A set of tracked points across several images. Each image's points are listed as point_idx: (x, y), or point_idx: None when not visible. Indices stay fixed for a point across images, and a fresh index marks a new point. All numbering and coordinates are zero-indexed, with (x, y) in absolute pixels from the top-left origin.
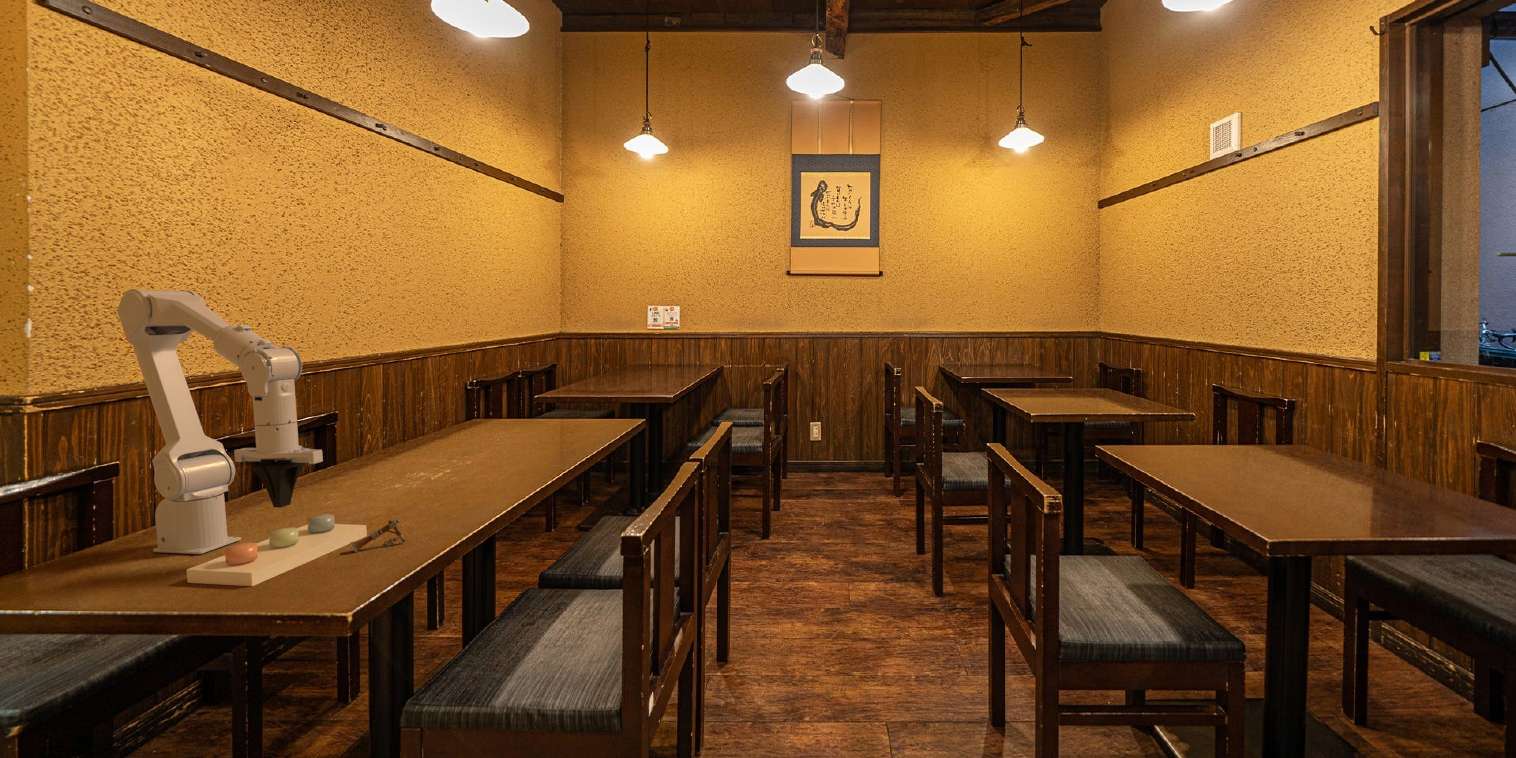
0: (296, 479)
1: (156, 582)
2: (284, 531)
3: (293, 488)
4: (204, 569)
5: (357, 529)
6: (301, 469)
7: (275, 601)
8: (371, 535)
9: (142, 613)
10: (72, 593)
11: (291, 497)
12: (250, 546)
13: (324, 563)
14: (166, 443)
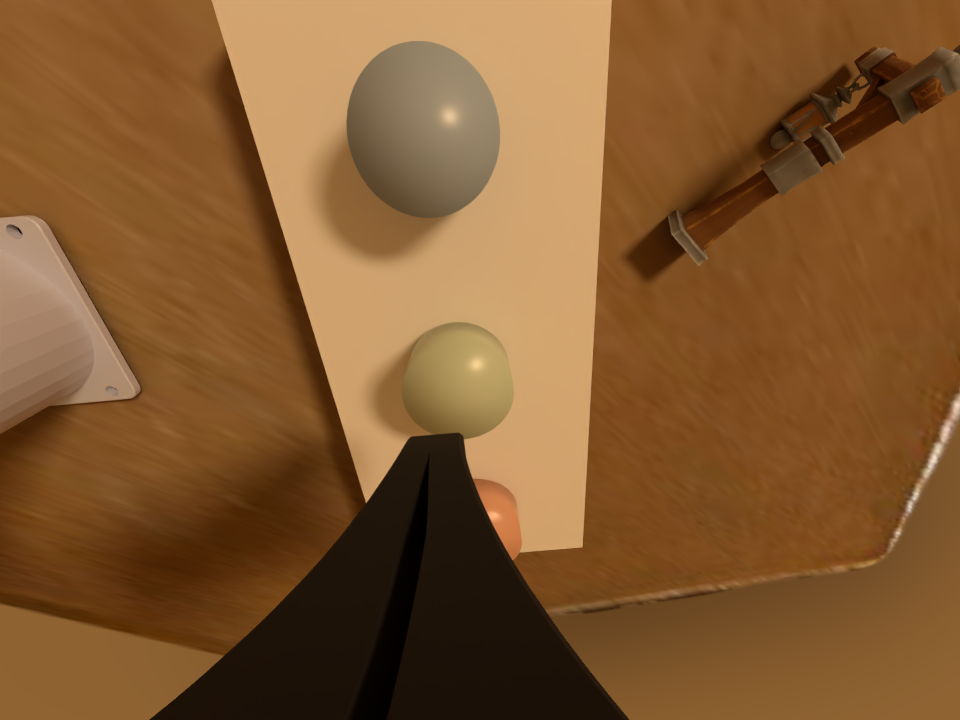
0: (514, 566)
1: (313, 543)
2: (468, 398)
3: (479, 501)
4: None
5: (606, 54)
6: (584, 669)
7: (694, 554)
8: (784, 193)
9: None
10: (218, 606)
11: (464, 456)
12: (506, 536)
13: (644, 360)
14: None
